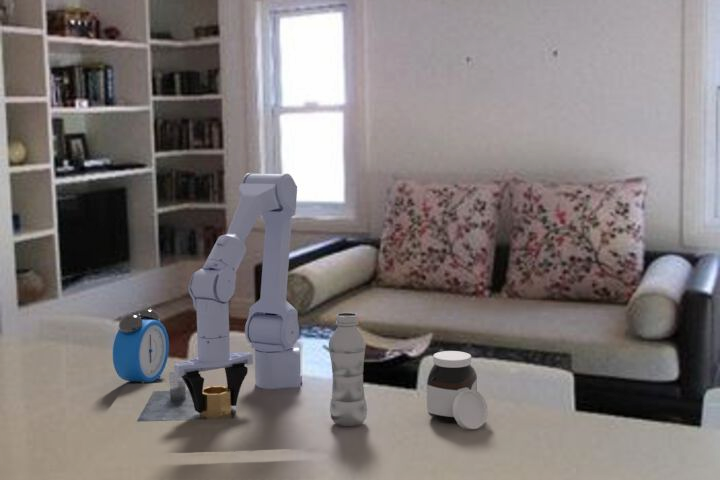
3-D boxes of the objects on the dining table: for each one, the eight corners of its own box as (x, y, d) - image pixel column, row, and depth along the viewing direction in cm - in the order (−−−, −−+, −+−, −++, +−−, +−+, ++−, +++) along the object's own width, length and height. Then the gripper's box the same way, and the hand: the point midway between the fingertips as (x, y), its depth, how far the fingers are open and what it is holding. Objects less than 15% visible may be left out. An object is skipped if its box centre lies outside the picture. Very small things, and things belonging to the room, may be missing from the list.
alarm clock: (138, 391, 177) (135, 318, 175) (112, 388, 179) (108, 317, 177) (171, 374, 189) (168, 306, 187) (146, 371, 191) (143, 305, 189)
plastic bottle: (363, 431, 151) (362, 319, 149) (325, 429, 153) (324, 317, 150) (370, 419, 158) (369, 311, 155) (334, 417, 159) (332, 310, 157)
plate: (240, 396, 173) (239, 364, 172) (233, 426, 155) (232, 390, 154) (153, 398, 171) (152, 366, 171) (137, 429, 154) (135, 393, 153)
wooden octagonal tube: (232, 406, 161) (231, 385, 161) (230, 415, 156) (229, 394, 155) (202, 407, 161) (201, 386, 160) (198, 417, 155) (197, 395, 155)
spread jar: (444, 406, 165) (444, 347, 163) (500, 416, 159) (501, 354, 157) (415, 425, 154) (415, 361, 153) (474, 436, 149) (474, 370, 147)
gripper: (240, 325, 164) (242, 395, 166) (166, 336, 156) (169, 409, 158) (257, 332, 158) (258, 404, 160) (182, 343, 150) (184, 419, 152)
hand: (215, 407), depth 158 cm, fingers closed on wooden octagonal tube, 6 cm apart
